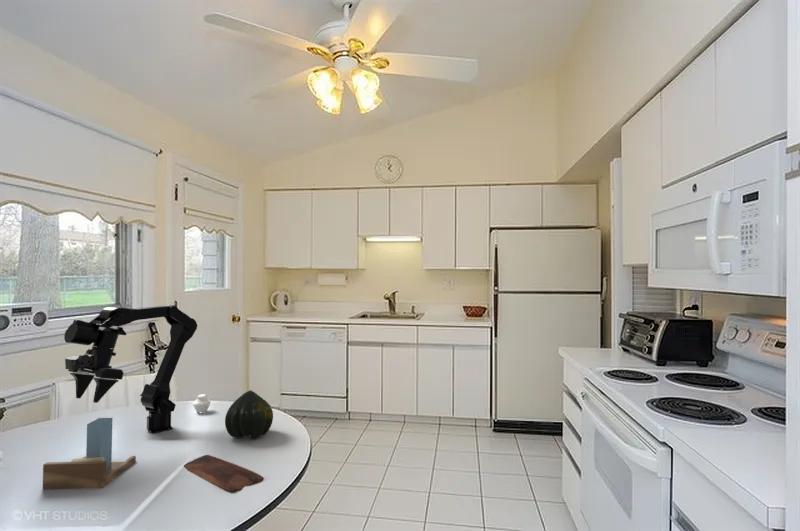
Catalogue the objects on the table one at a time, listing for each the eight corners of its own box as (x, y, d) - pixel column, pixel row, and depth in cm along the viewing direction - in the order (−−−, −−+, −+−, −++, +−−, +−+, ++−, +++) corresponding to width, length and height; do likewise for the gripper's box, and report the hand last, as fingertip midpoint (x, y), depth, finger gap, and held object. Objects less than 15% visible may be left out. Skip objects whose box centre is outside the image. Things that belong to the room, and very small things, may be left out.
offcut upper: (73, 468, 109) (73, 459, 109) (104, 466, 111) (104, 456, 111) (64, 476, 105) (64, 465, 105) (96, 473, 107) (96, 463, 107)
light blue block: (98, 465, 117) (99, 417, 117) (111, 465, 117) (112, 417, 117) (85, 474, 112) (87, 424, 112) (99, 474, 112) (101, 424, 112)
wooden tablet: (177, 462, 120) (210, 446, 128) (178, 469, 120) (211, 453, 128) (231, 492, 104) (265, 471, 112) (232, 500, 104) (266, 480, 112)
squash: (245, 432, 130) (266, 387, 140) (208, 427, 136) (231, 384, 146) (269, 450, 140) (287, 407, 150) (233, 445, 145) (253, 403, 155)
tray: (83, 465, 119) (84, 440, 119) (136, 464, 120) (136, 439, 120) (42, 493, 104) (43, 464, 104) (102, 492, 105) (103, 463, 105)
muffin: (213, 410, 168) (214, 392, 168) (203, 415, 162) (203, 396, 162) (200, 409, 169) (200, 391, 169) (189, 414, 163) (189, 395, 163)
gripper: (58, 341, 129) (39, 395, 124) (93, 346, 120) (74, 404, 116) (96, 346, 138) (80, 396, 134) (131, 351, 130) (115, 405, 125)
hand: (86, 400), depth 127 cm, fingers open, 9 cm apart
